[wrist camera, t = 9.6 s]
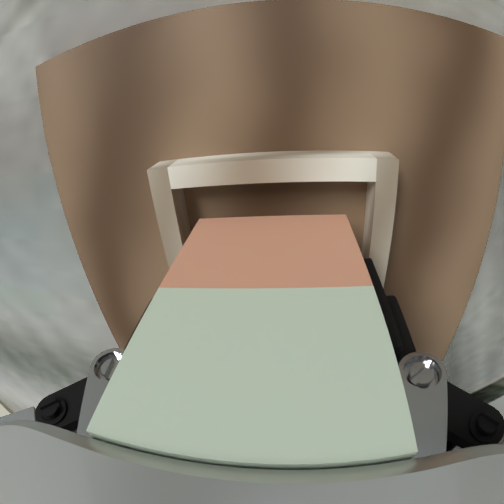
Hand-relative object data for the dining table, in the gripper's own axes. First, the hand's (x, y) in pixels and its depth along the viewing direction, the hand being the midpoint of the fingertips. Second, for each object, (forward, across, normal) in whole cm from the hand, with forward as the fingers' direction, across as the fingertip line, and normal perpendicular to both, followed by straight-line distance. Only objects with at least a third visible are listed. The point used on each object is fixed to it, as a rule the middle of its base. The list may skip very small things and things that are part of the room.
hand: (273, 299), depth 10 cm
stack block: (+1, 0, 0) cm, 1 cm away
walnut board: (+4, 0, 0) cm, 4 cm away
